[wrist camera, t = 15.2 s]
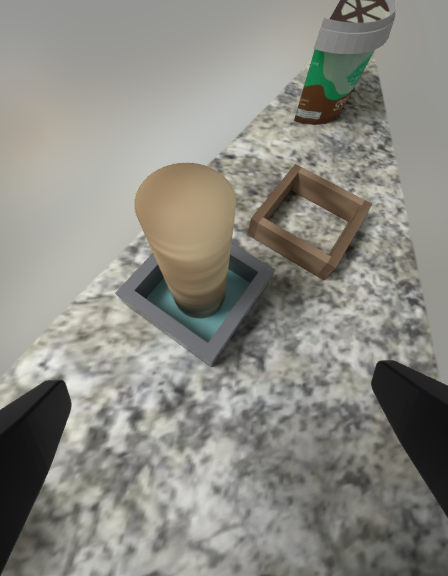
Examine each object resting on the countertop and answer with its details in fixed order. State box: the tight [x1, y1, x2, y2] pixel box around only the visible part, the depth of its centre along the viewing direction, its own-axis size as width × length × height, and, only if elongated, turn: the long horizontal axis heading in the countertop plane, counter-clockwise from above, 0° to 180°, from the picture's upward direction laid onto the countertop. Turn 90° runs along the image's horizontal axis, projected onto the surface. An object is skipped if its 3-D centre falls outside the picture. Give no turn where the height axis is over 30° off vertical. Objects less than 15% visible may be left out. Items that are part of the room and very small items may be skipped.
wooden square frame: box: [247, 164, 372, 280], centre depth 25 cm, size 9×9×2 cm
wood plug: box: [135, 163, 236, 318], centre depth 17 cm, size 4×4×12 cm
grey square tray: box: [115, 243, 275, 367], centre depth 21 cm, size 9×9×3 cm
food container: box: [294, 0, 397, 125], centre depth 29 cm, size 12×6×10 cm, turn 154°
